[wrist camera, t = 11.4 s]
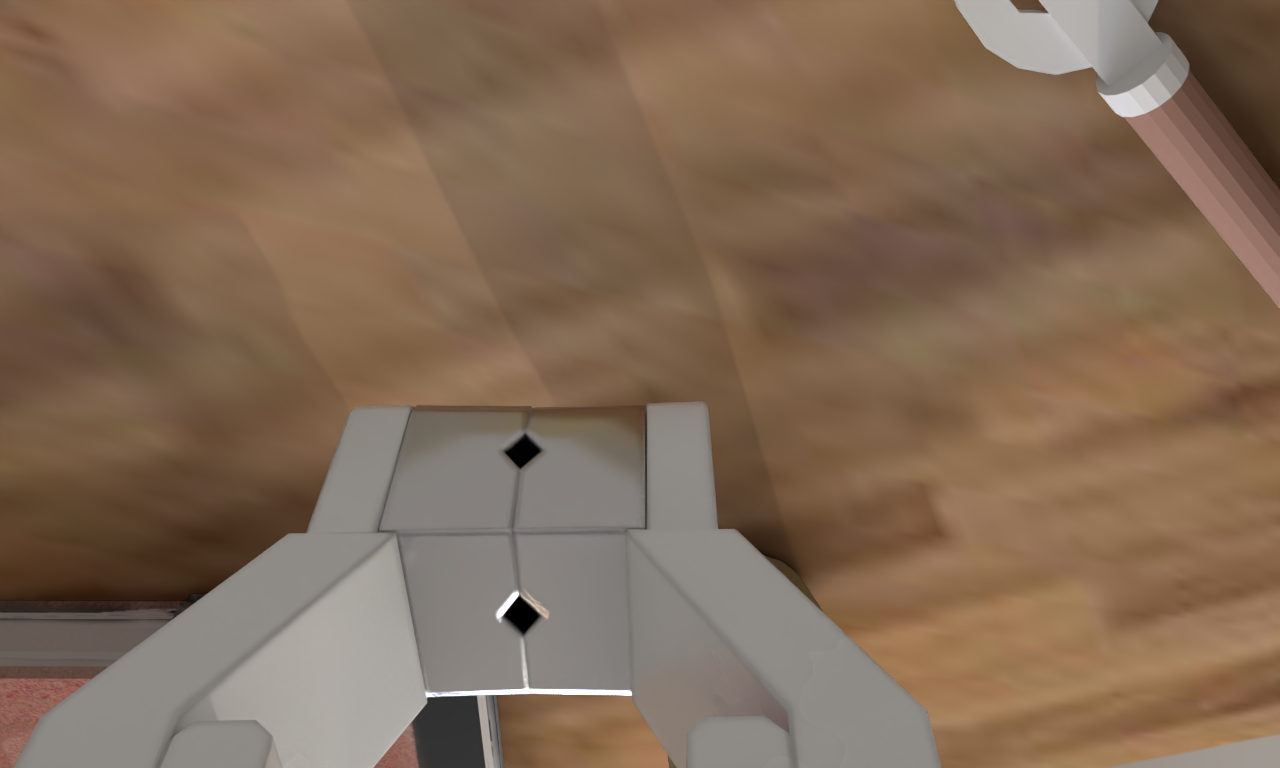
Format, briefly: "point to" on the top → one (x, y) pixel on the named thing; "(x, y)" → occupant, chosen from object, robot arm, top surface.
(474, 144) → the top surface
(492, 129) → the top surface
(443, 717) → the book
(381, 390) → the top surface
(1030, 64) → the pizza cutter
